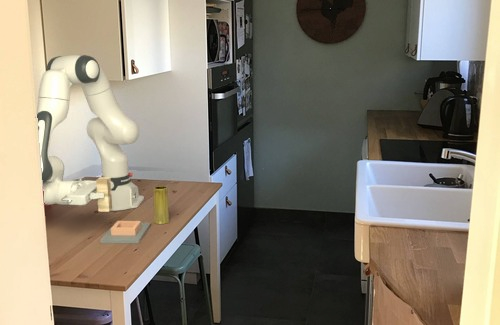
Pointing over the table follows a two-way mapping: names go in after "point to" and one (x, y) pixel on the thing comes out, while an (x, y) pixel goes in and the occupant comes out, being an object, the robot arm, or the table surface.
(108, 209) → the oak post
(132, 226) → the socket board
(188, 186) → the table surface
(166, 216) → the vase
